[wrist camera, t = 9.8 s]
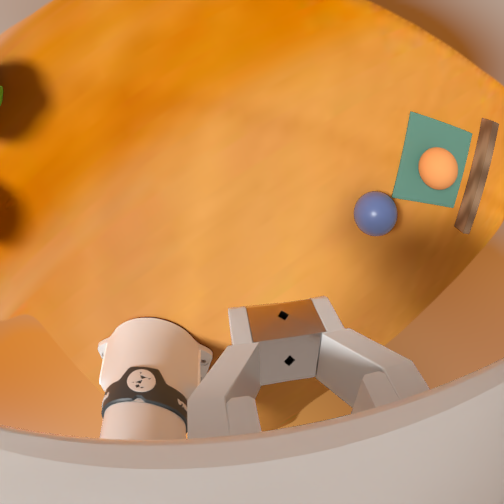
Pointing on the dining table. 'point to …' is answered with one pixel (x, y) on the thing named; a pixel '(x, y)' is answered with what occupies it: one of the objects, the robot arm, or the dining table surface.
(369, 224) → the blue ball
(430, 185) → the orange ball
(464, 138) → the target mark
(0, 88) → the snack cup
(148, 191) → the dining table surface
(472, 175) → the rail
